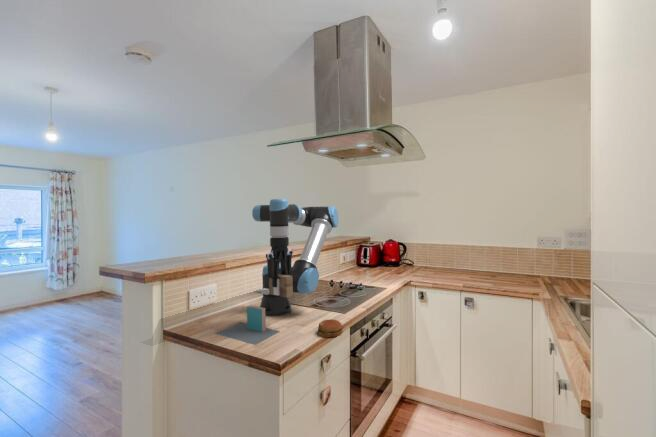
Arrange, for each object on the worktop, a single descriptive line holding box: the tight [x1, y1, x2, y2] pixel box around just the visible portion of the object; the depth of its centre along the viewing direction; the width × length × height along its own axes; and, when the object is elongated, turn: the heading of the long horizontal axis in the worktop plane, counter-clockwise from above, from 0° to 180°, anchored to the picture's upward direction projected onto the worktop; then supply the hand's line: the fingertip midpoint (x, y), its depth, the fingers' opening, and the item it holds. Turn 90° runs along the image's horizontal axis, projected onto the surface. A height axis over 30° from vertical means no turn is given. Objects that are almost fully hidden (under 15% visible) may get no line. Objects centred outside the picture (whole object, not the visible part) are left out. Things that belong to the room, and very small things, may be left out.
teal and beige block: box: [246, 304, 267, 332], centre depth 125 cm, size 2×8×9 cm, turn 60°
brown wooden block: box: [253, 274, 294, 298], centre depth 129 cm, size 18×6×8 cm, turn 54°
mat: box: [214, 321, 281, 345], centre depth 122 cm, size 22×14×1 cm, turn 60°
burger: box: [317, 319, 343, 338], centre depth 122 cm, size 10×9×5 cm
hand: (280, 293), depth 127 cm, fingers closed on brown wooden block, 3 cm apart
